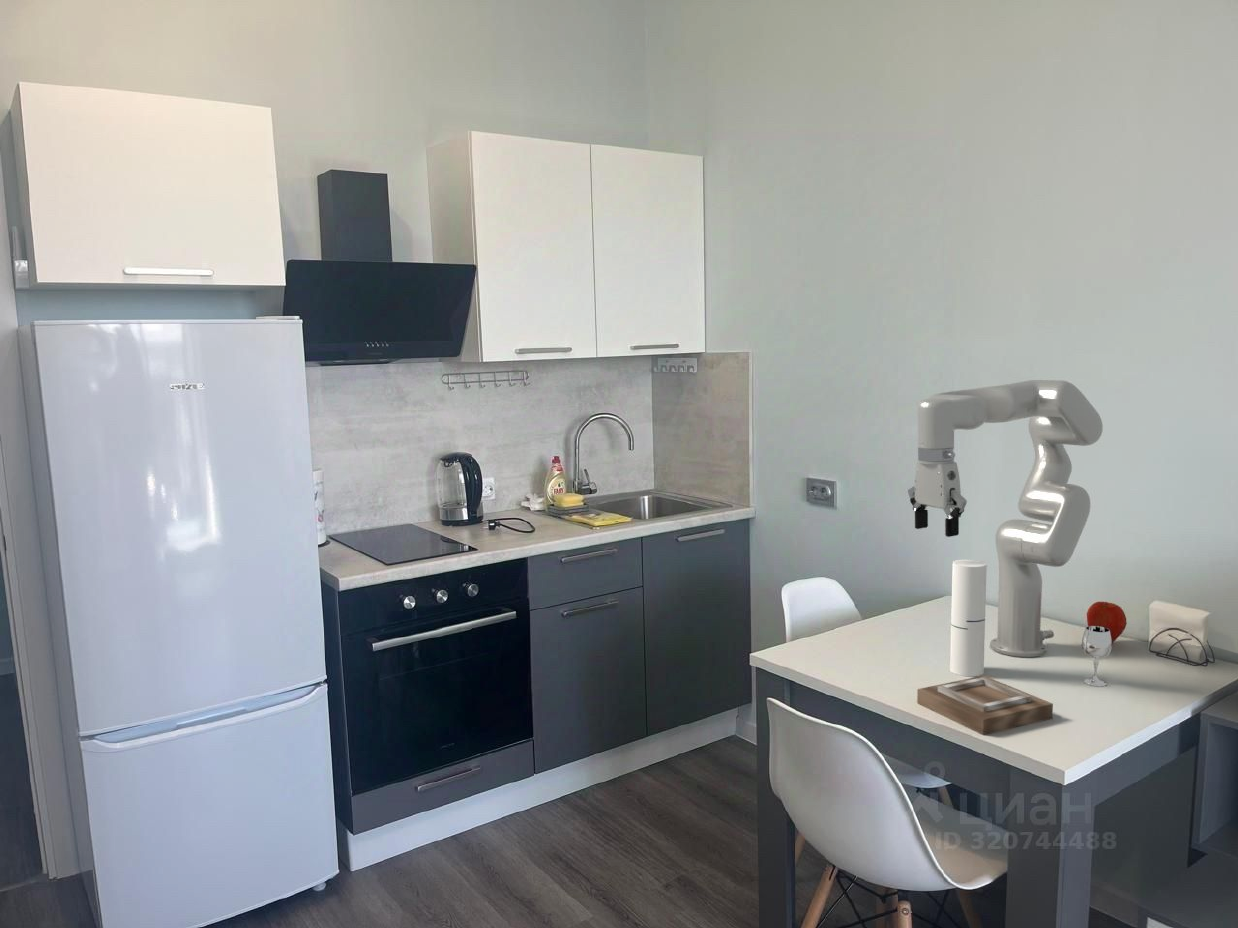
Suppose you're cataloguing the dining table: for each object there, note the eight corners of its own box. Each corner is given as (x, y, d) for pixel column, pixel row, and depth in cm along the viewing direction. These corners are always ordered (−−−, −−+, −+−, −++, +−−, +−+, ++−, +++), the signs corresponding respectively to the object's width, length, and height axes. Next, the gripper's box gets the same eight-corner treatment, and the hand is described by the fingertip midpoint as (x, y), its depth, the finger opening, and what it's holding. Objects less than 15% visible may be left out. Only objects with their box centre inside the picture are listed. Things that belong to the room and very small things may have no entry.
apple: (1131, 645, 227) (1133, 602, 226) (1113, 652, 222) (1115, 608, 221) (1097, 637, 234) (1098, 595, 233) (1078, 643, 229) (1080, 600, 228)
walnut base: (983, 688, 201) (983, 670, 200) (1052, 718, 185) (1053, 698, 184) (917, 702, 194) (917, 684, 193) (983, 734, 177) (983, 714, 177)
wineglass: (1098, 689, 199) (1100, 634, 198) (1074, 681, 204) (1076, 627, 203) (1116, 684, 202) (1118, 630, 201) (1091, 676, 207) (1094, 623, 206)
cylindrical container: (986, 677, 208) (989, 567, 205) (952, 675, 209) (955, 566, 206) (980, 666, 215) (983, 559, 212) (947, 665, 216) (950, 559, 213)
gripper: (978, 457, 198) (978, 536, 200) (922, 449, 214) (923, 523, 216) (950, 461, 195) (950, 541, 198) (896, 453, 211) (896, 527, 213)
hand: (936, 531), depth 207 cm, fingers open, 9 cm apart
